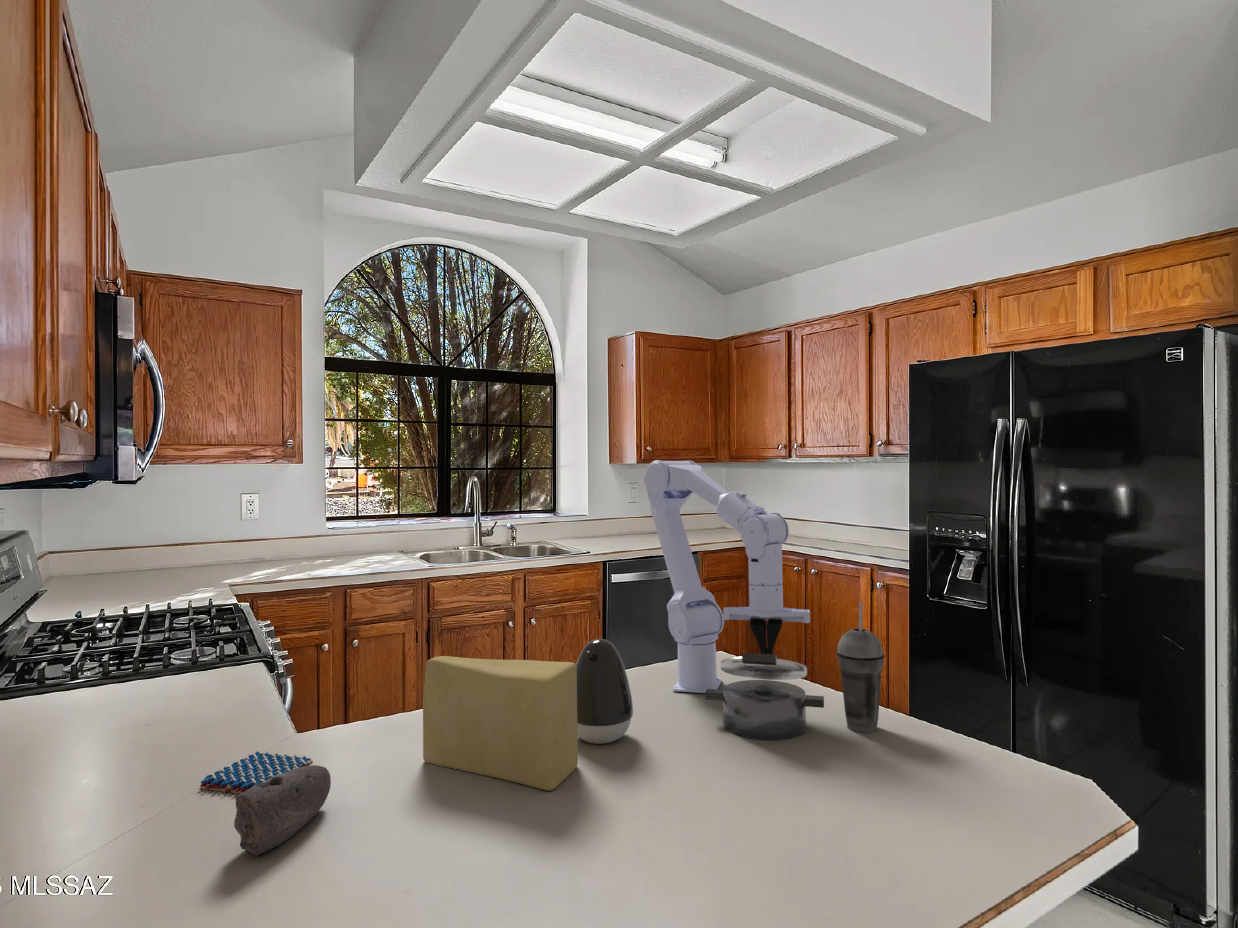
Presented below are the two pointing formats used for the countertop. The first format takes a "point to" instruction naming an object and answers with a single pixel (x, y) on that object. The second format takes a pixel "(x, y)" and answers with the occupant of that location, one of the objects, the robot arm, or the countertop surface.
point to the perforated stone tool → (280, 807)
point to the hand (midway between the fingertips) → (767, 663)
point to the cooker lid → (763, 667)
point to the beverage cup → (861, 677)
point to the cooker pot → (764, 708)
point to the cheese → (502, 718)
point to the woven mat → (251, 772)
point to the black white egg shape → (602, 694)
